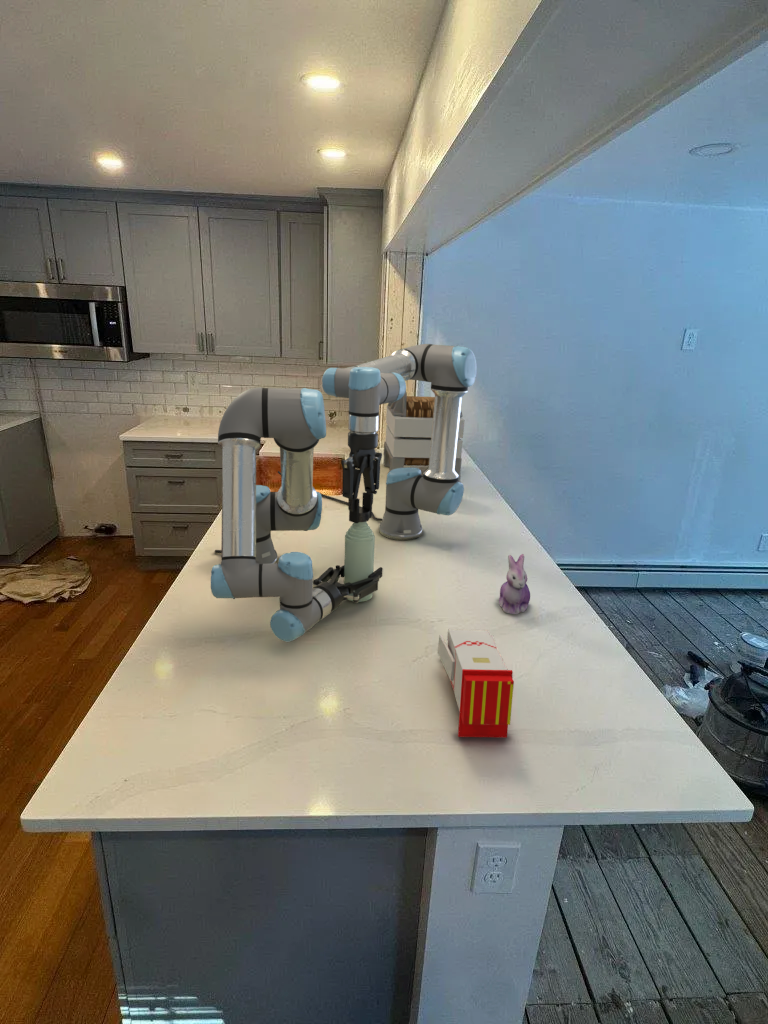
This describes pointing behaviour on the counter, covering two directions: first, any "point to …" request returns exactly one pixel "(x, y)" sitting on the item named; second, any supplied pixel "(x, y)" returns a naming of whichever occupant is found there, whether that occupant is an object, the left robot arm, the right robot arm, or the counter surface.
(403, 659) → the counter surface
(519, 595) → the figurine
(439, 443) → the right robot arm
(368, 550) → the bottle
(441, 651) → the toy
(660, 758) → the counter surface
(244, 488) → the left robot arm
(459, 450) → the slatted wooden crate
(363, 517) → the cap
